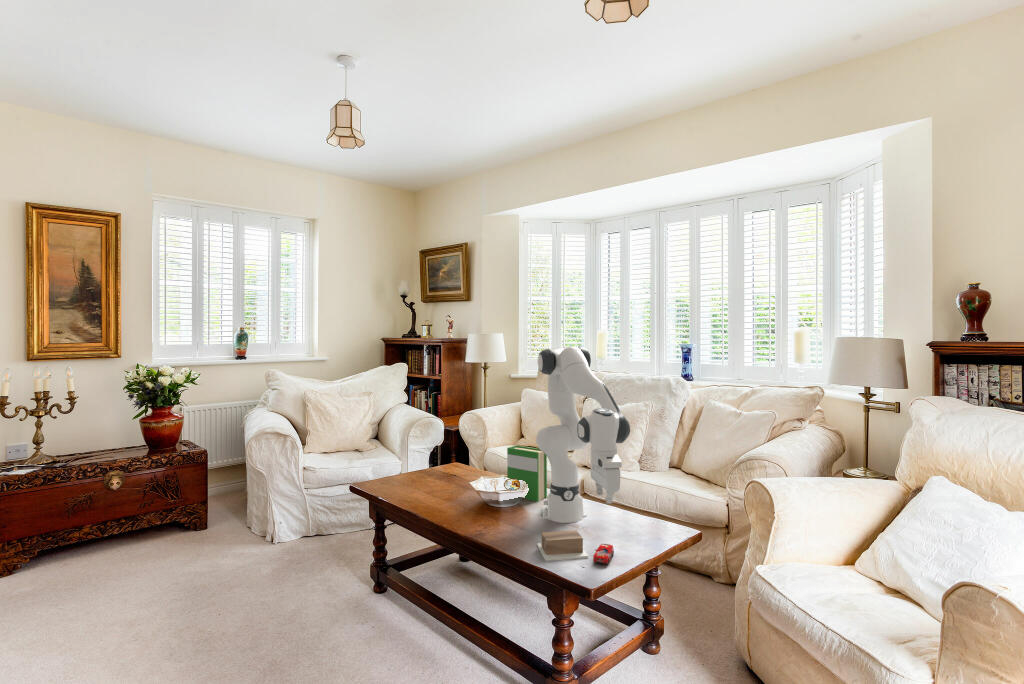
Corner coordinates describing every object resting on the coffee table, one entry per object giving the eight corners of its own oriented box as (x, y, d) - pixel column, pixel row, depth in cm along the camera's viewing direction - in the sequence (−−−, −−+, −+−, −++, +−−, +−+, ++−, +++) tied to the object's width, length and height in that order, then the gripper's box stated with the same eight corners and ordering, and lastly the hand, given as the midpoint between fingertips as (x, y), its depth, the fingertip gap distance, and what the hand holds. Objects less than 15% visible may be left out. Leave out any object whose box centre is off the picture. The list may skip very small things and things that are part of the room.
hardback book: (546, 501, 250) (546, 449, 249) (537, 505, 244) (537, 452, 244) (517, 494, 261) (516, 445, 260) (507, 498, 255) (507, 447, 255)
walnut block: (541, 546, 192) (541, 532, 192) (576, 543, 194) (576, 530, 194) (546, 555, 184) (546, 540, 184) (582, 552, 186) (582, 538, 186)
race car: (607, 566, 176) (607, 554, 176) (591, 563, 178) (591, 551, 178) (615, 553, 188) (616, 541, 188) (600, 550, 190) (600, 539, 190)
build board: (537, 546, 195) (537, 543, 195) (576, 543, 197) (576, 540, 197) (545, 562, 181) (545, 558, 181) (588, 559, 183) (588, 555, 183)
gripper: (585, 451, 190) (586, 490, 190) (604, 464, 169) (605, 508, 169) (603, 451, 191) (603, 490, 191) (623, 463, 170) (624, 507, 170)
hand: (604, 498), depth 180 cm, fingers open, 8 cm apart
